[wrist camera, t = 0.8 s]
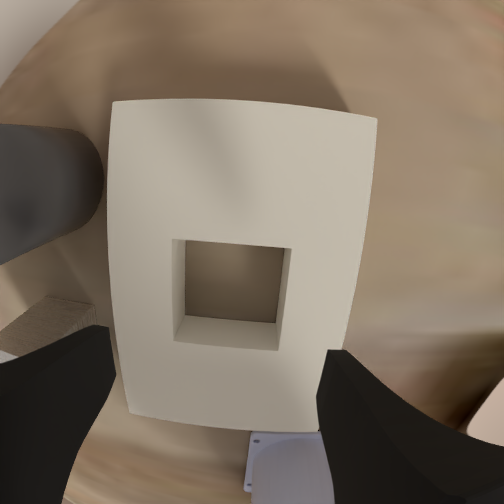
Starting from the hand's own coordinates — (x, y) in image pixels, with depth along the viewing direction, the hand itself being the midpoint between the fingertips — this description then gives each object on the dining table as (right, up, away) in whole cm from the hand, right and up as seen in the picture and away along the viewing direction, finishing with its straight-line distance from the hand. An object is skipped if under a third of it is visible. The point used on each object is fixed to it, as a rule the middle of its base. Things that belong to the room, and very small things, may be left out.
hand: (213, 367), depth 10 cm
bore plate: (0, +2, +8) cm, 8 cm away
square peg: (-11, -2, +9) cm, 15 cm away
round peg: (-10, +8, +7) cm, 15 cm away
